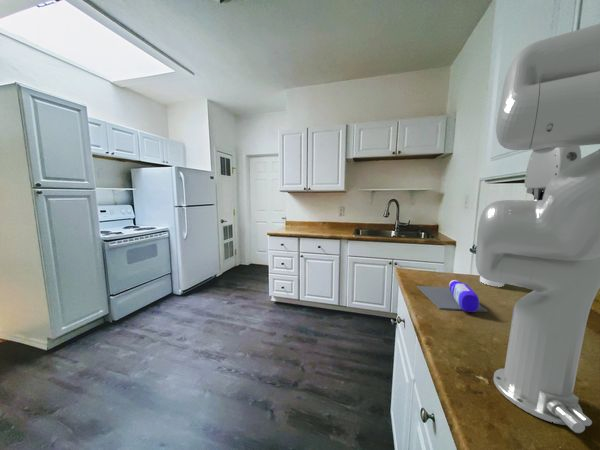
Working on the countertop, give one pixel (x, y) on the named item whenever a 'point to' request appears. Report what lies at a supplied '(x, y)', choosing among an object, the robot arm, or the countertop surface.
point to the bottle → (464, 296)
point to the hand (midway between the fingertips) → (543, 215)
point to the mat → (443, 298)
